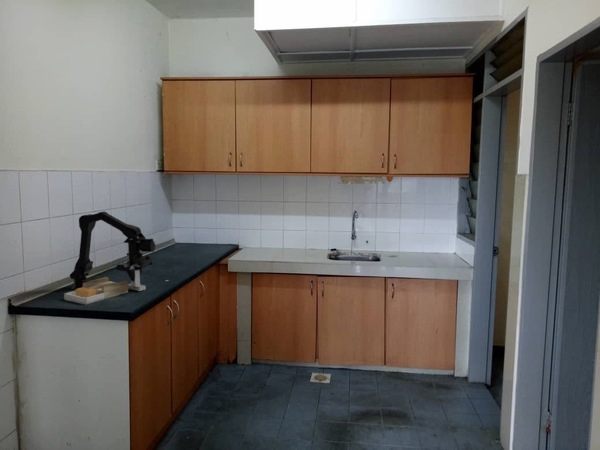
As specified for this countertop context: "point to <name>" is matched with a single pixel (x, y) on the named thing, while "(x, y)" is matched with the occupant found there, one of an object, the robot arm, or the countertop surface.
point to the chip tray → (82, 298)
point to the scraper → (136, 282)
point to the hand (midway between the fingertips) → (135, 280)
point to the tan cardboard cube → (89, 293)
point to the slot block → (107, 287)
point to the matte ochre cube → (80, 291)
